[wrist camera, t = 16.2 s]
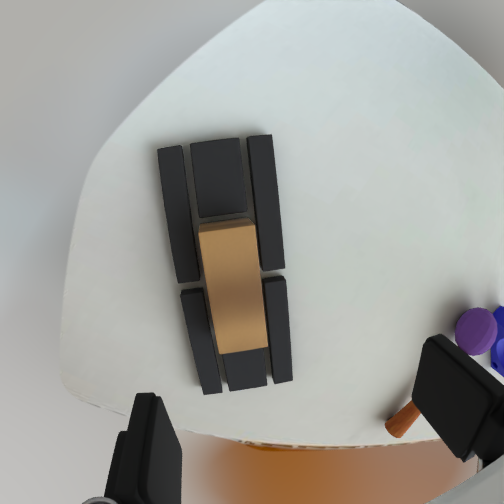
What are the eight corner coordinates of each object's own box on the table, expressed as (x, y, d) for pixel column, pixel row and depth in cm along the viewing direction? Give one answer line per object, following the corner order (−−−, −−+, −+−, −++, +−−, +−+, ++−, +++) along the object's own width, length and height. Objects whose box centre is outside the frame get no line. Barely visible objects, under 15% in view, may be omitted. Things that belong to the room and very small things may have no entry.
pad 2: (181, 290, 27) (180, 295, 25) (283, 275, 27) (286, 279, 26) (203, 387, 29) (203, 395, 28) (290, 374, 30) (293, 380, 29)
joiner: (199, 223, 25) (198, 232, 22) (247, 217, 26) (254, 224, 22) (217, 331, 28) (219, 354, 24) (260, 324, 28) (268, 346, 25)
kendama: (384, 439, 31) (491, 310, 26) (373, 410, 36) (465, 293, 32) (412, 448, 31) (512, 330, 26) (401, 421, 37) (488, 312, 32)
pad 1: (159, 150, 23) (156, 148, 22) (269, 136, 24) (272, 134, 23) (179, 279, 26) (177, 284, 25) (282, 264, 27) (285, 268, 26)
